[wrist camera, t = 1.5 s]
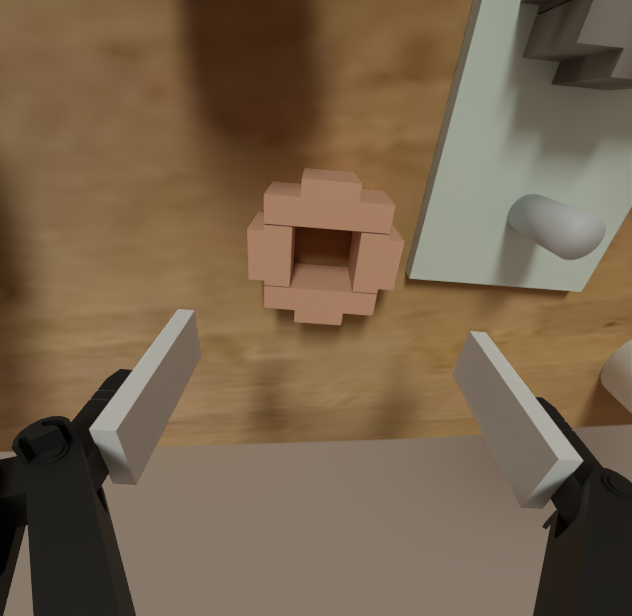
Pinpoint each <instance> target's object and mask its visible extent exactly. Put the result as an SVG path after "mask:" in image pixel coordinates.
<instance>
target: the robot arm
mask: <svg viewBox="0 0 632 616" xmlns="http://www.w3.org/2000/svg"><path fill="white" fill-rule="evenodd" d="M200 357H201V353H200V346H199V339H198V331H197V324H196V317H195V310H182V309H178V310H177V311H176V313H175V314H174V315H173V317H172V318H171V319H170V321H169V322H168V323H167V325H166V326H165V327H164V329H163V330H162V332H161V333H160V334H159V336H158V337H157V338H156V340H155V341H154V342H153V344H152V345H151V346H150V348H149V349H148V350H147V352H146V353H145V354H144V356H143V357H142V358H141V360H140V361H139V363H138V364H137V365H136V367H135V368H134V369H133V370H126V369H120V370H118V371H117V372H115V373H114V374H113V375H111V376H110V377H108V378H107V379H106V380H105V381H104V383H103V384H102V385H101V386H100V388H99V389H98V391H96V393H95V394H94V395H93V396H92V397H91V400H89V401H88V402H87V404H86V405H85V406H84V407H83V408H82V410H81V411H80V412H79V413H78V415H77V416H76V417H75V418H74V419H73V421H72V422H70V420H69V419H68V418H65V417H63V416H52V417H48V418H44V419H41V420H39V421H37V422H35V423H33V424H30V425H29V426H28V427H26V428H25V429H24V430H22V431H21V432H20V433H19V434H18V436H17V437H16V438H15V439H14V441H13V445H12V449H13V450H14V452H15V453H16V455H17V456H16V457H11V458H6V459H1V460H0V616H3V613H4V610H5V606H6V602H7V598H8V594H9V590H10V586H11V582H12V578H13V574H14V570H15V566H16V562H17V558H18V555H19V550H20V546H21V543H22V539H23V535H24V531H25V527H26V525H28V536H29V551H30V566H31V583H32V598H33V613H34V616H136V614H135V610H134V606H133V602H132V598H131V594H130V591H129V587H128V583H127V579H126V575H125V571H124V567H123V563H122V559H121V556H120V552H119V548H118V544H117V540H116V536H115V532H114V528H113V524H112V521H111V517H110V513H109V509H108V505H107V501H106V497H105V494H104V490H103V488H102V484H103V482H104V480H105V479H106V477H107V475H108V474H109V475H110V478H111V480H112V482H113V483H114V484H115V483H116V484H132V485H136V484H137V482H138V480H139V478H140V476H141V474H142V472H143V470H144V468H145V466H146V464H147V462H148V460H149V458H150V456H151V454H152V453H153V450H154V449H155V447H156V445H157V443H158V441H159V439H160V437H161V435H162V433H163V431H164V429H165V427H166V425H167V423H168V421H169V419H170V417H171V415H172V413H173V411H174V409H175V407H176V405H177V403H178V401H179V399H180V397H181V395H182V393H183V391H184V389H185V387H186V385H187V383H188V381H189V379H190V377H191V375H192V373H193V371H194V369H195V367H196V365H197V363H198V361H199V359H200ZM453 376H454V378H455V380H456V382H457V384H458V385H459V387H460V389H461V391H462V393H463V395H464V397H465V399H466V401H467V403H468V405H469V407H470V409H471V411H472V413H473V415H474V417H475V419H476V421H477V423H478V425H479V427H480V429H481V431H482V433H483V435H484V436H485V438H486V440H487V442H488V444H489V446H490V448H491V450H492V452H493V454H494V456H495V458H496V460H497V462H498V464H499V466H500V468H501V470H502V472H503V474H504V476H505V478H506V480H507V482H508V484H509V485H510V487H511V489H512V491H513V493H514V495H515V497H516V499H517V501H518V503H519V505H520V507H522V508H539V509H540V508H541V509H542V508H543V507H544V506H545V505H546V504H547V503H548V501H549V500H550V499H551V500H552V502H553V504H554V505H555V507H556V508H557V510H556V511H555V512H554V513H553V514H552V515H551V516H550V517H549V518H548V520H547V521H546V522H545V523H544V525H543V528H545V529H547V528H548V527H549V525H551V526H550V531H549V536H548V541H547V547H546V552H545V557H544V562H543V567H542V573H541V577H540V582H539V588H538V593H537V598H536V603H535V608H534V613H533V616H632V483H631V482H630V481H629V480H628V479H626V478H625V477H623V476H622V475H620V474H618V473H617V472H615V471H612V470H610V469H607V468H603V467H602V466H601V465H600V463H599V462H598V461H597V459H596V458H595V457H594V456H593V454H592V453H591V452H590V451H589V449H588V448H587V447H586V446H585V444H584V443H583V442H582V441H581V440H580V438H579V437H578V436H577V435H576V433H575V432H574V431H572V428H571V427H570V426H569V425H568V423H567V422H565V421H564V418H563V417H562V416H561V415H560V413H559V412H558V411H557V410H556V408H555V407H553V406H552V405H551V404H550V403H548V402H547V401H546V400H545V399H543V398H541V397H534V395H533V394H532V393H531V391H530V390H529V389H528V387H527V386H526V385H525V383H524V382H523V381H522V379H521V378H520V377H519V376H518V374H517V373H516V372H515V370H514V369H513V368H512V366H511V365H510V364H509V362H508V361H507V360H506V358H505V357H504V356H503V354H502V353H501V352H500V351H499V349H498V348H497V347H496V345H495V344H494V343H493V341H492V340H491V339H490V337H489V336H488V335H487V333H486V332H474V331H470V332H469V335H468V337H467V340H466V342H465V345H464V347H463V350H462V352H461V354H460V357H459V359H458V362H457V364H456V367H455V369H454V372H453Z"/></svg>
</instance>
